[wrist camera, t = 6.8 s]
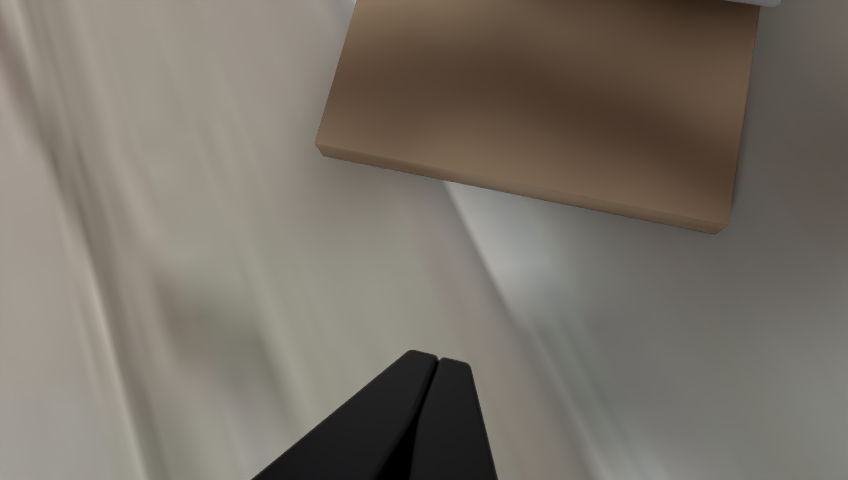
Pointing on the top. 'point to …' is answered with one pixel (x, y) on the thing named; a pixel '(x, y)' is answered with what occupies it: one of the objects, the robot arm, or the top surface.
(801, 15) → the top surface
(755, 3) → the white rectangular box
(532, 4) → the brown wooden plank
